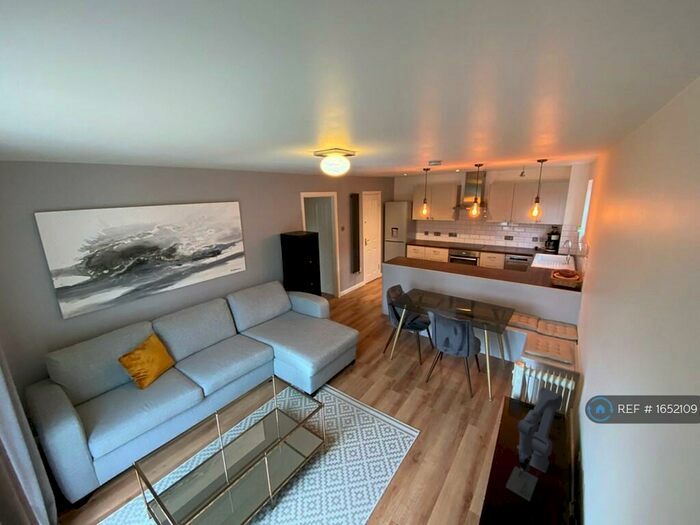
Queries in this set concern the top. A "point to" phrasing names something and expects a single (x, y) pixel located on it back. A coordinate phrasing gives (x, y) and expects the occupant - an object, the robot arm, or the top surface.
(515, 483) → the socket block
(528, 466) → the end plug
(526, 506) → the top surface
